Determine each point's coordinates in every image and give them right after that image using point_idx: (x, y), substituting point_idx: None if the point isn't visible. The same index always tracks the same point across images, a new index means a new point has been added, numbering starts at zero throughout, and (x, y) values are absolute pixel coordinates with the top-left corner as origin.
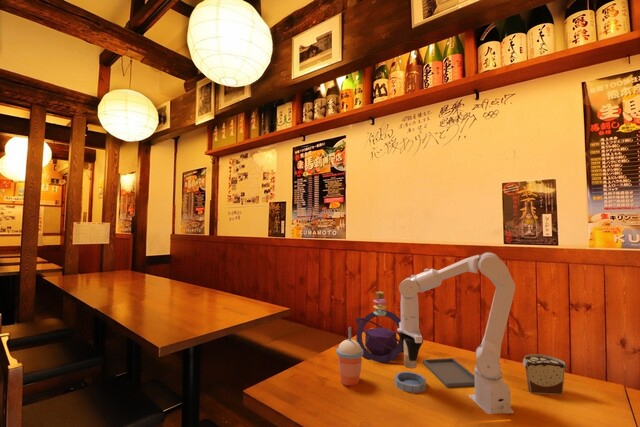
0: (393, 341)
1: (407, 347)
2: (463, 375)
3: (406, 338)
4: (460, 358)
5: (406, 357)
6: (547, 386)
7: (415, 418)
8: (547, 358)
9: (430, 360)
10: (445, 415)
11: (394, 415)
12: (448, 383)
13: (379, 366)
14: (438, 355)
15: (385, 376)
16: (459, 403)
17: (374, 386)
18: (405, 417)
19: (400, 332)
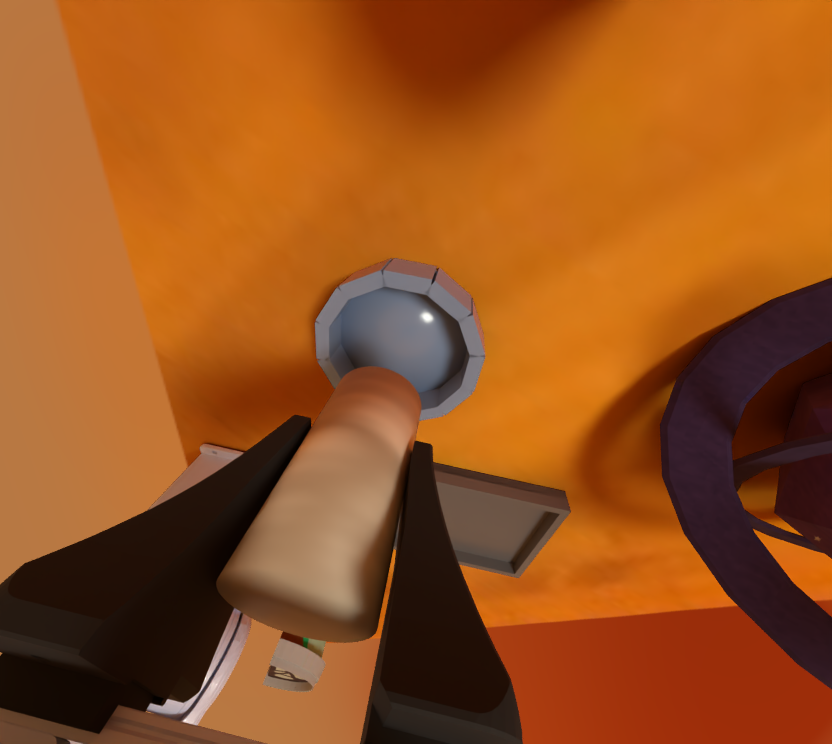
0: (820, 527)
1: (219, 504)
2: None
3: (67, 658)
4: (531, 586)
5: (326, 417)
6: None
7: (132, 198)
8: (301, 682)
9: (548, 525)
10: (183, 336)
11: (128, 78)
12: None
13: (704, 298)
14: (594, 564)
15: (556, 266)
16: (263, 421)
17: (467, 103)
18: (126, 144)
19: (462, 738)
